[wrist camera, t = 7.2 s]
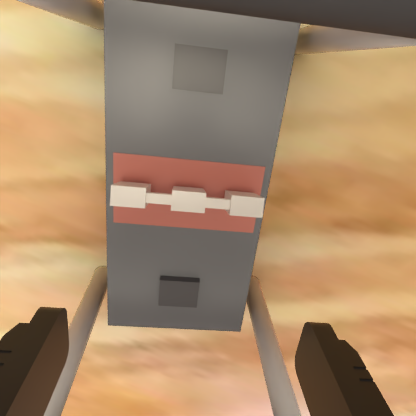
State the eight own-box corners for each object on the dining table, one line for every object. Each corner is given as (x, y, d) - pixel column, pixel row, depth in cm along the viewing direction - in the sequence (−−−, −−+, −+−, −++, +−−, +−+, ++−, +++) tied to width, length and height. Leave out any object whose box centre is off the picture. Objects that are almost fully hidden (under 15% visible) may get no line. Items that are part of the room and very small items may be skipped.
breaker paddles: (253, 192, 23) (264, 198, 20) (252, 210, 23) (262, 217, 20) (120, 181, 22) (110, 185, 19) (119, 198, 22) (109, 205, 19)
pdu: (314, 19, 23) (514, -49, 9) (256, 295, 33) (307, 476, 18) (85, -12, 22) (-115, -154, 7) (95, 286, 31) (15, 474, 17)
